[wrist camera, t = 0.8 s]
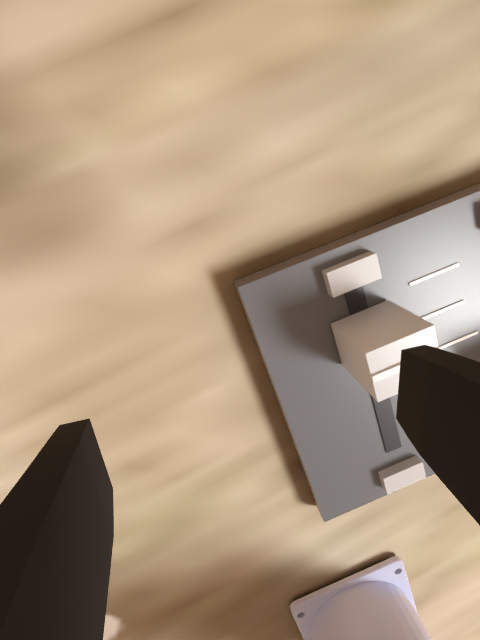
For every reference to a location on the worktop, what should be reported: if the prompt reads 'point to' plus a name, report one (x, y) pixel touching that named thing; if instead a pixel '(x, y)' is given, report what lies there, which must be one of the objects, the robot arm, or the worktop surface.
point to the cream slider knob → (380, 345)
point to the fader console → (322, 353)
